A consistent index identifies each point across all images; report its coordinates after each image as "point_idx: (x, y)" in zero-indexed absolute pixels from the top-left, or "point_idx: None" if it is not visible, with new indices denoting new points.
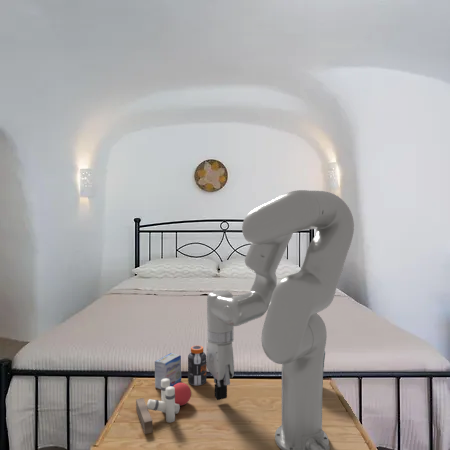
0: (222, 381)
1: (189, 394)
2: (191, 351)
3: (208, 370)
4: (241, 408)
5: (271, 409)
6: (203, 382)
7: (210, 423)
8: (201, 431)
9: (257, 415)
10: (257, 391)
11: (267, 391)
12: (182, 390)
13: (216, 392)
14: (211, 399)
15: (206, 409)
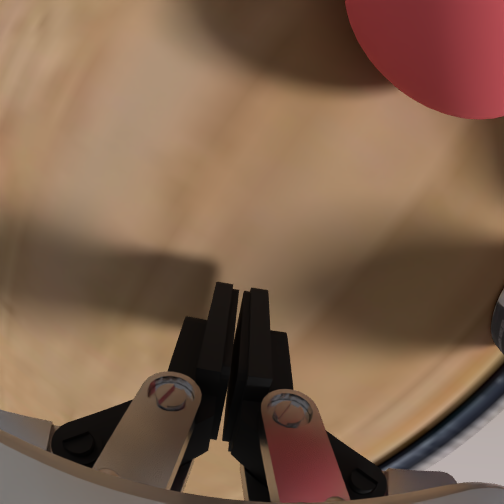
0: (50, 447)
1: (377, 37)
2: None
3: (428, 502)
4: (116, 353)
5: (75, 419)
6: (496, 322)
7: (47, 104)
8: (21, 31)
9: (43, 361)
10: (232, 465)
11: (209, 478)
12: None
13: (214, 319)
14: (324, 269)
15: (214, 156)
